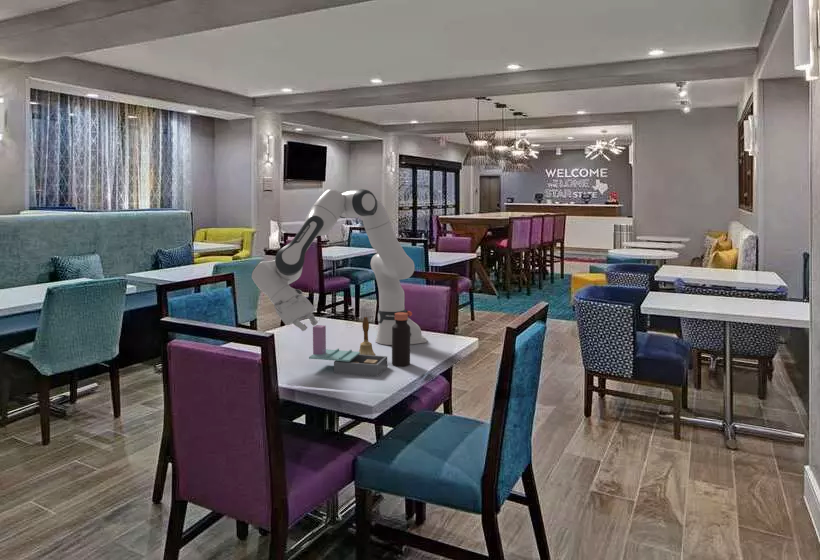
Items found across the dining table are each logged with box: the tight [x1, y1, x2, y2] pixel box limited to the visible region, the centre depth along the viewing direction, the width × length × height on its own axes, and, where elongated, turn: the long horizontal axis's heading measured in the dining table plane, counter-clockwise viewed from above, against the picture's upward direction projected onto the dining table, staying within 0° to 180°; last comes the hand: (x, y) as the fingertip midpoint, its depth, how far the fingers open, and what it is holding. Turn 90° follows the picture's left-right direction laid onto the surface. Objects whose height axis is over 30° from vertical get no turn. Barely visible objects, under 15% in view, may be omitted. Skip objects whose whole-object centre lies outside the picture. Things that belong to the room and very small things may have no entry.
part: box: [364, 359, 378, 364], centre depth 208 cm, size 4×4×3 cm
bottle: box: [391, 312, 411, 368], centre depth 214 cm, size 7×7×20 cm
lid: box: [308, 324, 360, 362], centre depth 208 cm, size 15×12×11 cm
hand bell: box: [358, 316, 377, 356], centre depth 227 cm, size 8×8×16 cm
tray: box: [333, 354, 388, 378], centre depth 207 cm, size 16×12×5 cm
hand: (310, 326), depth 210 cm, fingers open, 8 cm apart
